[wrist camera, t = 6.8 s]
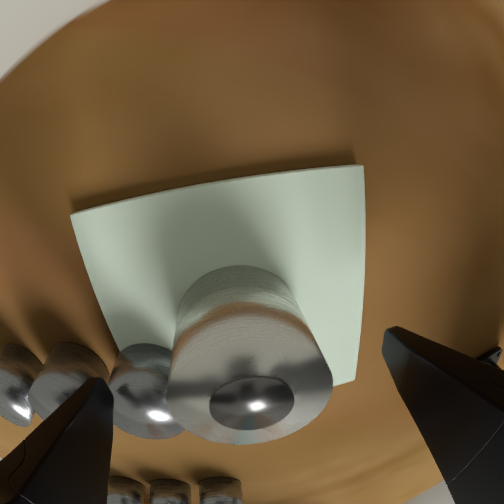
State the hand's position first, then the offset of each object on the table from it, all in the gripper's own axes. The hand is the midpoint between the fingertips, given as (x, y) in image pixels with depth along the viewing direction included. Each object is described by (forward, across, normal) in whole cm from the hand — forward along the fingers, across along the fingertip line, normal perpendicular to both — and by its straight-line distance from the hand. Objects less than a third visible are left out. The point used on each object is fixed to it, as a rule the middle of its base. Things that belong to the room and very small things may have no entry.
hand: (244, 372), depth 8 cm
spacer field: (+3, +8, +9) cm, 12 cm away
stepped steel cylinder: (+3, 0, 0) cm, 3 cm away
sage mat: (+3, 0, 0) cm, 3 cm away
